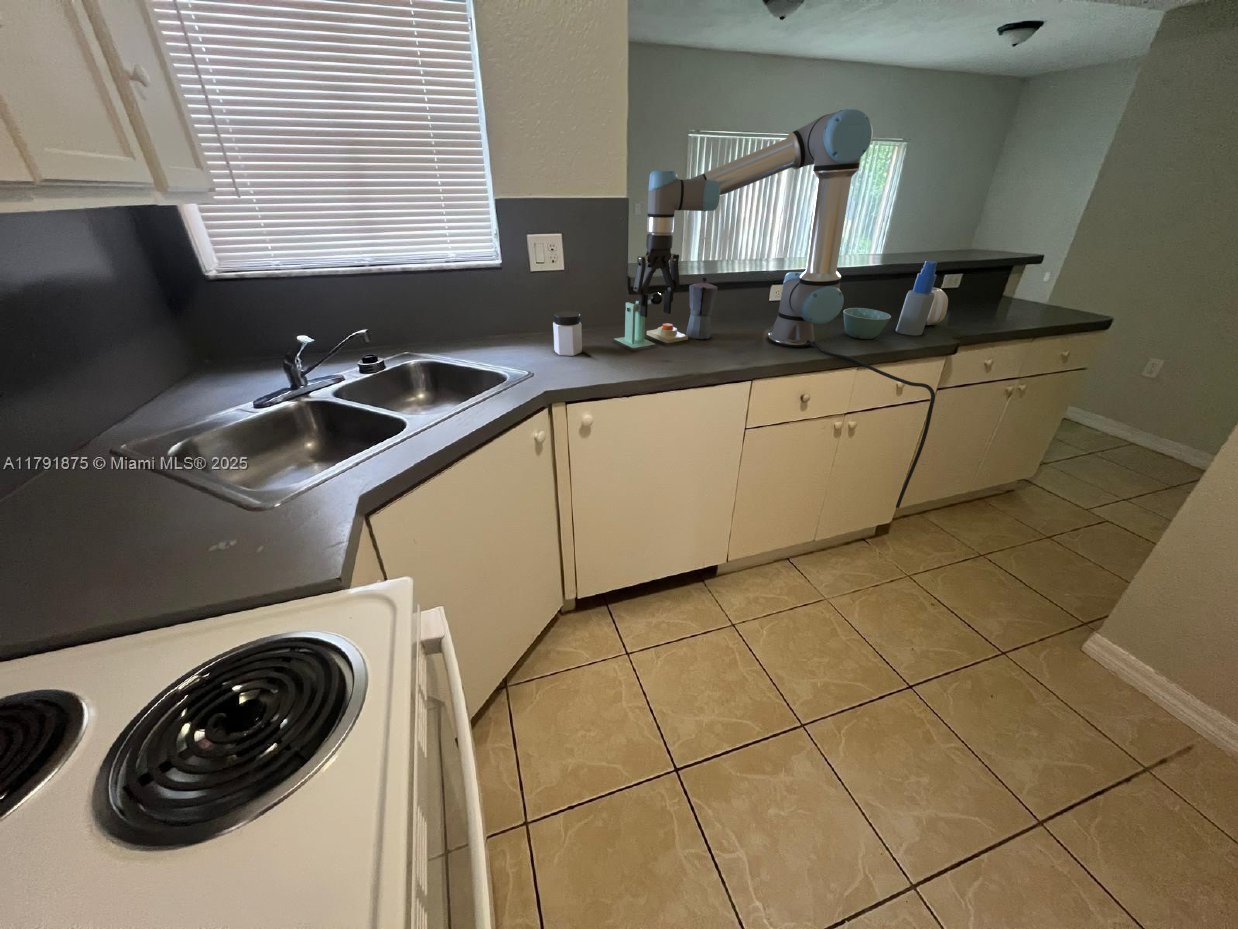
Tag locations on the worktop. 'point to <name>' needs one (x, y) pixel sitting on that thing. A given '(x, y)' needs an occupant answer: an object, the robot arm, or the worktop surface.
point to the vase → (937, 307)
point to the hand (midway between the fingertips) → (655, 314)
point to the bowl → (864, 322)
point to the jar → (567, 333)
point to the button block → (667, 335)
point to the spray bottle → (918, 302)
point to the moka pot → (701, 309)
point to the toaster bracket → (634, 328)
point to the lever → (651, 301)
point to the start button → (667, 326)
